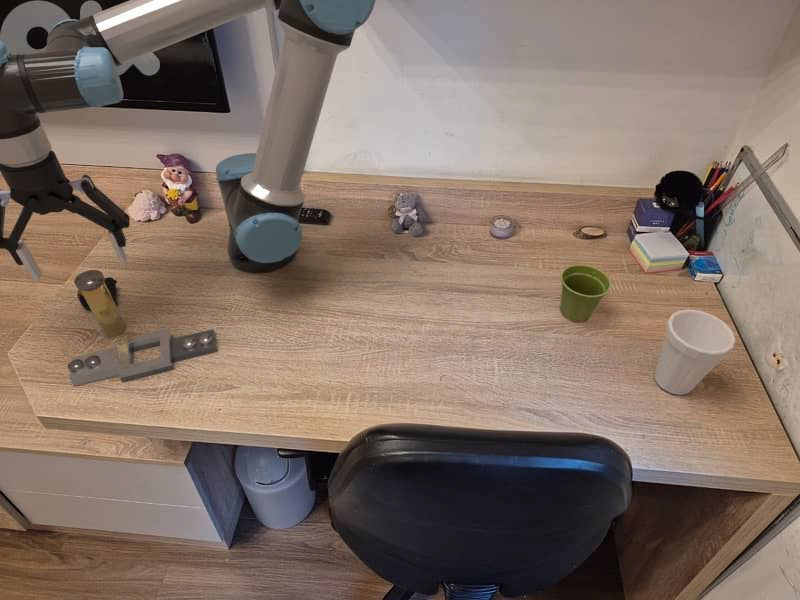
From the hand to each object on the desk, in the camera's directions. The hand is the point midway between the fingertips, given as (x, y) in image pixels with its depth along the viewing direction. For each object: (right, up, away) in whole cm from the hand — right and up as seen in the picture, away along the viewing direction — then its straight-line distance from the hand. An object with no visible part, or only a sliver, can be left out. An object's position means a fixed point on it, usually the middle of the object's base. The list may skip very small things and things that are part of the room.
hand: (81, 269), depth 91 cm
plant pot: (+91, -8, +15) cm, 92 cm away
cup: (+104, -20, +1) cm, 106 cm away
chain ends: (+9, -16, +5) cm, 19 cm away
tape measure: (-5, -6, +17) cm, 19 cm away
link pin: (0, -11, +10) cm, 15 cm away
